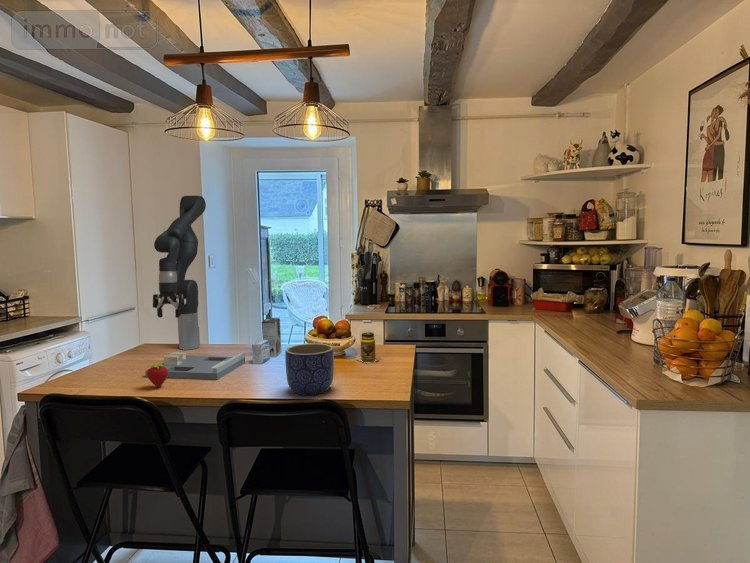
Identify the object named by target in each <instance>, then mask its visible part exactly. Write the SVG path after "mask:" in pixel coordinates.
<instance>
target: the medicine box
mask: <svg viewBox="0 0 750 563" xmlns="http://www.w3.org/2000/svg"><path fill="white" fill-rule="evenodd" d="M251 351H252V364H254V365H255V364H256V365H263V364H265V363H266V362H268V361H270V360H271V357H270V351H269V340H263V339H260V340H258V341H256V342H254V343H251Z"/></svg>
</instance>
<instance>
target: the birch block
mask: <svg viewBox="0 0 750 563" xmlns="http://www.w3.org/2000/svg"><path fill="white" fill-rule="evenodd" d="M186 354H187V353H186V352H170V353H168V354H166V355H163V363H164V365H179V364H181V363H183V362H185V361H186Z"/></svg>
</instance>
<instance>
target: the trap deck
mask: <svg viewBox="0 0 750 563" xmlns="http://www.w3.org/2000/svg"><path fill="white" fill-rule="evenodd" d="M161 364H163V365H164V362H162V363H161ZM244 364H246V352H240V353H238V354H236V355H234V356H219V355H218V356H216V355H215V356H213V355H186V361H185V362H183V363H181V364H179V365H165V366H163V367H165V368H167V369H168V376H167V377H169V378H168V379H181V378H190V379H189V380H210V381H218V380H219V379H221V378H223V377H225V376H226V375H228V374H229V373H232V372H233V371H235V370H236V369H238V368H239V367H241V366H243V365H244ZM157 365H158V364H157ZM158 366H159V365H158ZM149 369H150V368H148V369H146V370H144V371H145V377H146V378H148V376H147V371H148V370H149Z"/></svg>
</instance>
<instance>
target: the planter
mask: <svg viewBox="0 0 750 563" xmlns="http://www.w3.org/2000/svg"><path fill="white" fill-rule="evenodd" d="M284 351H285V353H284V354H285V355H284V356H285V357H284V358H285V375H286V376H285V377H286V381H287V385H288V386H289V388H290V389H291V391H293V392H294V393H295V394H298V393H299V395H302V394H314V395H319V394H322V393H325V392H326V391H327V390H329V388H330V387H331V386H332V383H333V381H334V376H335V375H334V374H335V373H334V372H335V358H334V347H333V346H332V345H330V344H326V343H319V342H318V343H316V342H315V343H314V342H313V343H310V342H307V343H301V344H295V345H291V346H289V347H287V348H286V349H285V350H284Z"/></svg>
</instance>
